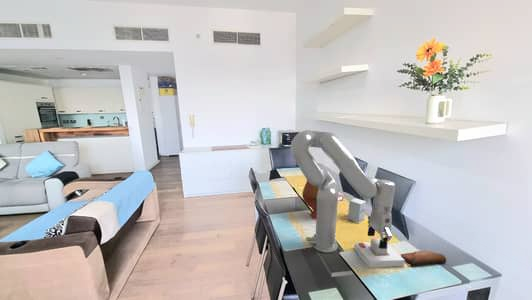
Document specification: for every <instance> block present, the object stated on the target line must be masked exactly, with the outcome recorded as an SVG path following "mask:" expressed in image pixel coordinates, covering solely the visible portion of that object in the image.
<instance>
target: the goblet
mask: <svg viewBox="0 0 532 300" xmlns="http://www.w3.org/2000/svg"><path fill="white" fill-rule="evenodd" d="M318 190H319V188H318V187H317V186H313V185H311V184H310V183H309V182H308V180H307V179H306V183H305V185H304V187H303V190H302V198H303V202H304V203H305V204H306V205H307V206H308V207H310V208H311V209H312V212H311V213H310V214H309V217H310V218H312V219H313V220H316V217H317V193H318Z"/></svg>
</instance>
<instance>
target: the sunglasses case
mask: <svg viewBox="0 0 532 300" xmlns="http://www.w3.org/2000/svg"><path fill="white" fill-rule="evenodd" d="M399 255H401V257H402V258H403V259H404V260H405V261H406V262H407V263H408V264H410V265H411V266H410V265H409V266H410V267H416V266H422V265H429V264H439V263H442V264H443V263H446V262H447V258H446V256H445V255H444V254H442V253H438V252H433V251H422V250H418V251H413V252H405V253H402V254H399ZM406 262H405V263H406ZM407 263H406V264H407ZM408 264H407V265H408Z"/></svg>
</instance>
